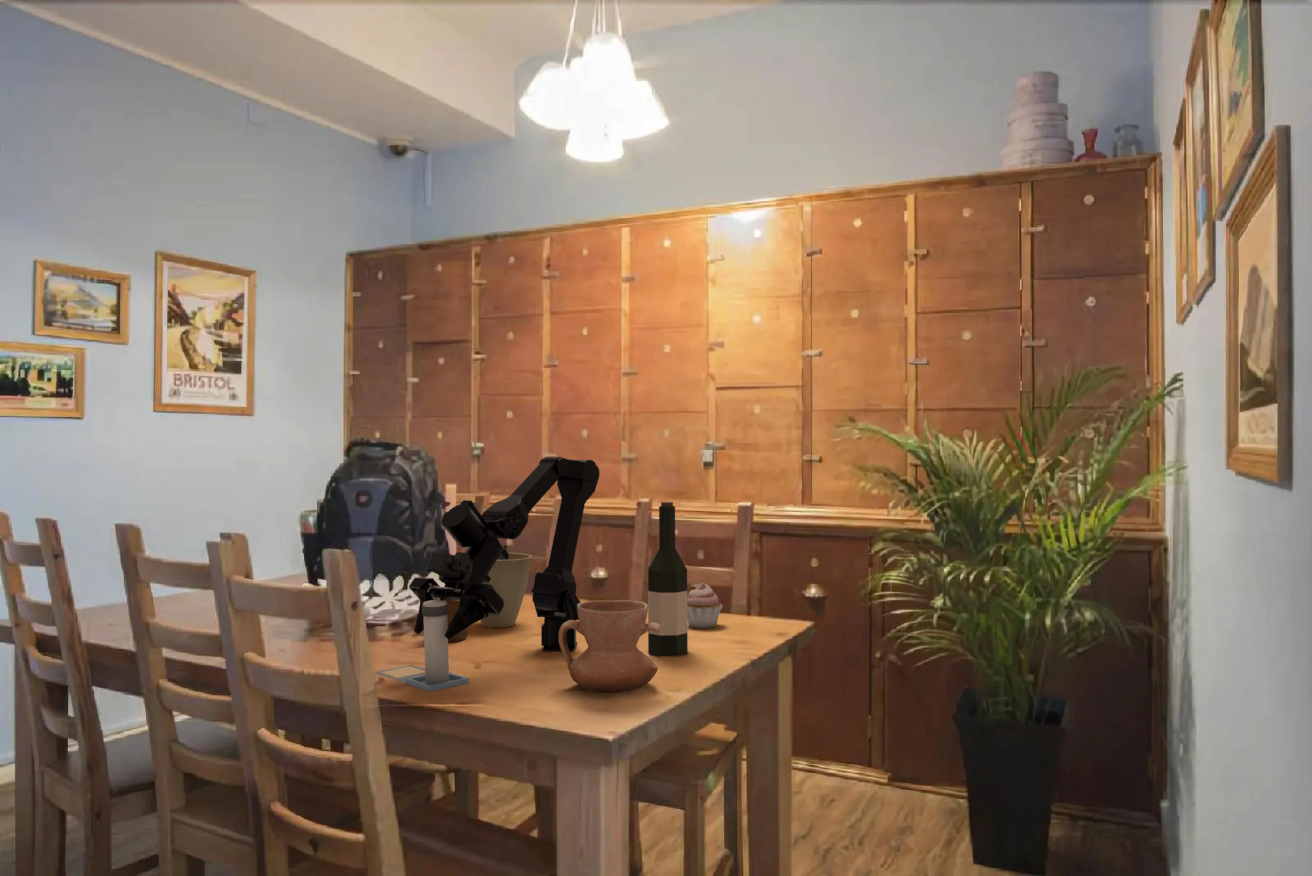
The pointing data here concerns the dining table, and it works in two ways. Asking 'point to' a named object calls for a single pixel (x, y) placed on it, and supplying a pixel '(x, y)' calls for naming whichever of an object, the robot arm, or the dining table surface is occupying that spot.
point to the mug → (452, 610)
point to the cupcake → (703, 607)
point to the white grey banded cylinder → (435, 641)
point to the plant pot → (509, 587)
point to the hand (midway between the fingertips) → (431, 635)
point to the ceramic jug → (610, 646)
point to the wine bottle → (667, 591)
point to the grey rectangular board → (420, 678)
